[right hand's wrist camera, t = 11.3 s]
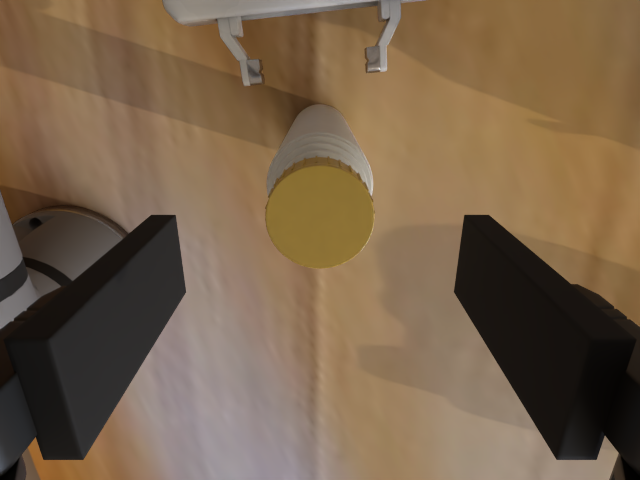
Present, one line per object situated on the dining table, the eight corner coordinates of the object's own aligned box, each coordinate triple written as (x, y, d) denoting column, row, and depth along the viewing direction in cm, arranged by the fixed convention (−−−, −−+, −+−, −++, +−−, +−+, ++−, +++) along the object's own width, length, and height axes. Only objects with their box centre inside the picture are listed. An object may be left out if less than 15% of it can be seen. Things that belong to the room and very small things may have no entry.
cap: (294, 266, 19) (292, 284, 18) (251, 180, 18) (244, 190, 16) (384, 231, 19) (391, 246, 17) (348, 138, 17) (351, 145, 16)
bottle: (305, 171, 41) (286, 294, 18) (282, 118, 39) (229, 181, 16) (356, 149, 41) (405, 249, 18) (335, 94, 39) (358, 125, 16)
